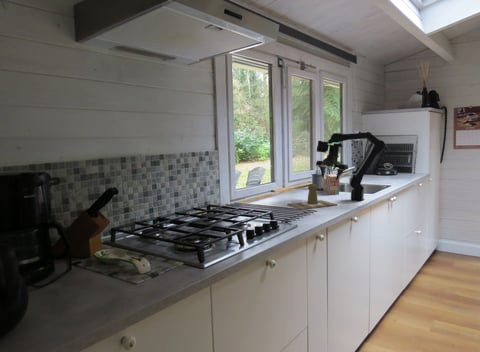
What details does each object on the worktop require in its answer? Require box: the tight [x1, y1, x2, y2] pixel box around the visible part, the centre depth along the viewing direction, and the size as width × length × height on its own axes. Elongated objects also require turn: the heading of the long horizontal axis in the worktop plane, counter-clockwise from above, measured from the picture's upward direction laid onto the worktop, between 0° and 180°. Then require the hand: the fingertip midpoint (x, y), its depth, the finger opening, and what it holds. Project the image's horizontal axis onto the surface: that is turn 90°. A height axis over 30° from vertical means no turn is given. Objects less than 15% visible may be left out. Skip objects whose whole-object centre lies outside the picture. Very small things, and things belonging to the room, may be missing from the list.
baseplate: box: [287, 199, 338, 211], centre depth 209 cm, size 24×14×1 cm, turn 117°
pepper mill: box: [306, 183, 318, 205], centre depth 208 cm, size 6×6×11 cm
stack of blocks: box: [322, 173, 341, 196], centre depth 254 cm, size 21×6×12 cm, turn 0°
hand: (329, 179), depth 226 cm, fingers open, 9 cm apart
